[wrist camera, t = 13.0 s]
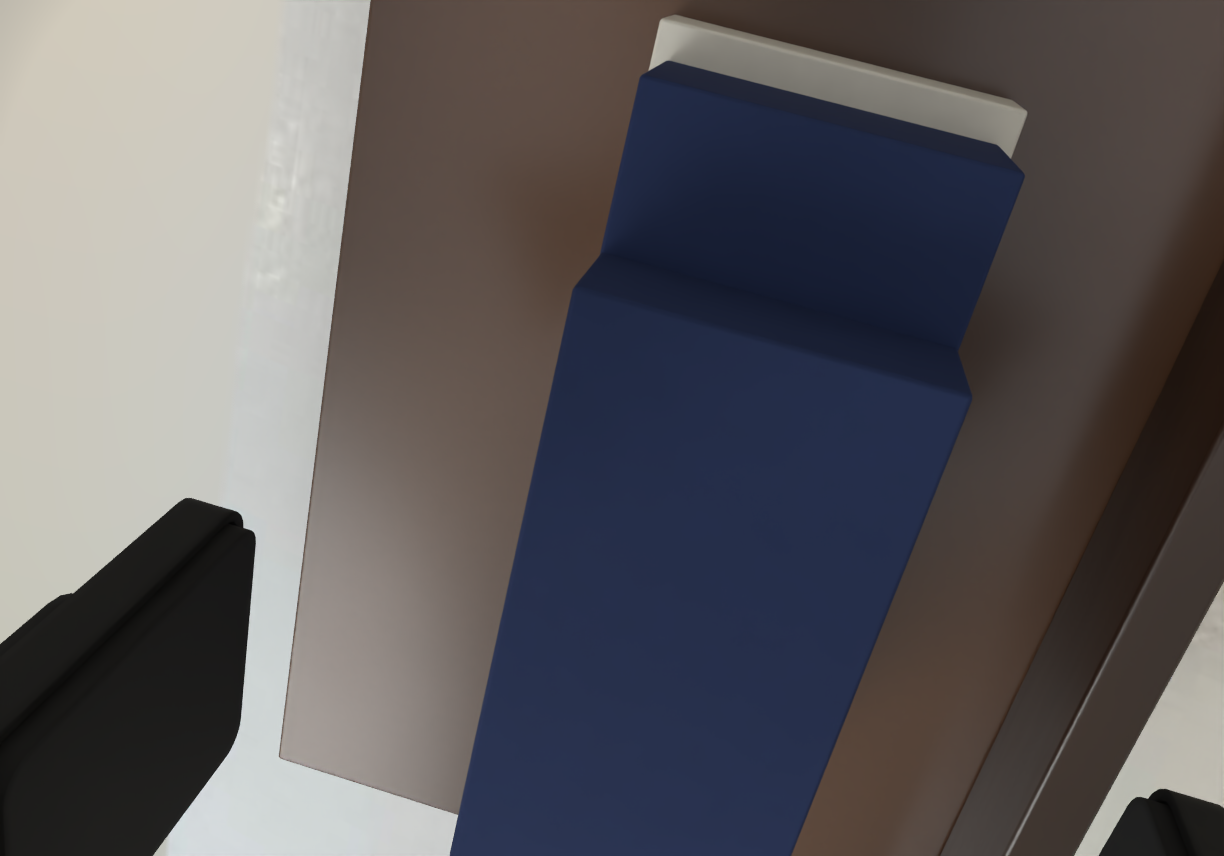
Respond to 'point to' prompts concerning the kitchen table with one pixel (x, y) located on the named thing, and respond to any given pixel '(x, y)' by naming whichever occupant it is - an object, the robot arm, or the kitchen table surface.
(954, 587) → the stand
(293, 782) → the kitchen table surface
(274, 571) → the kitchen table surface
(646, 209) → the two-tone stepped block
